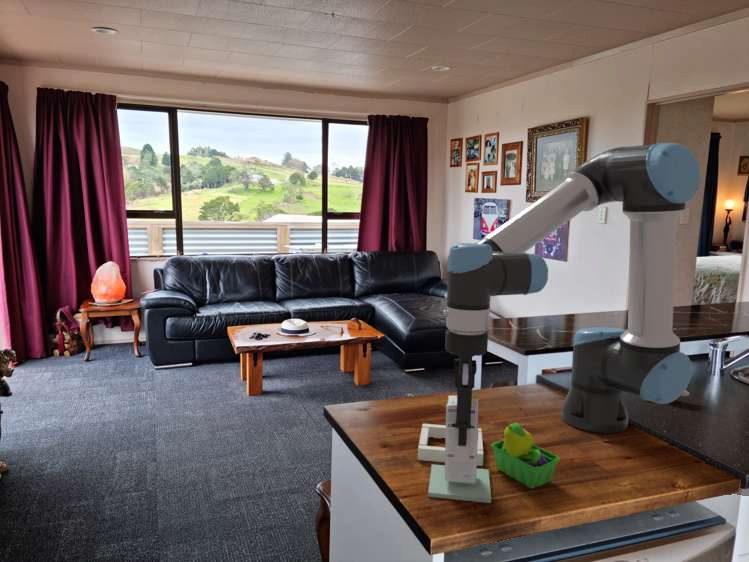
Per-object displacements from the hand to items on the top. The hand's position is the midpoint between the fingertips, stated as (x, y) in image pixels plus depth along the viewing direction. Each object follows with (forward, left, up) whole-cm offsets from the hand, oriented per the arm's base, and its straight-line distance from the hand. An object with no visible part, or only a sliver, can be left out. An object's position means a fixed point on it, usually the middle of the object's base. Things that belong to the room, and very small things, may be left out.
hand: (461, 452), depth 104 cm
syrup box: (0, 0, -5) cm, 5 cm away
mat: (0, 0, -6) cm, 6 cm away
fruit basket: (-12, -6, -7) cm, 15 cm away
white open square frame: (+2, -15, -6) cm, 16 cm away
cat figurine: (-54, -58, -7) cm, 80 cm away
